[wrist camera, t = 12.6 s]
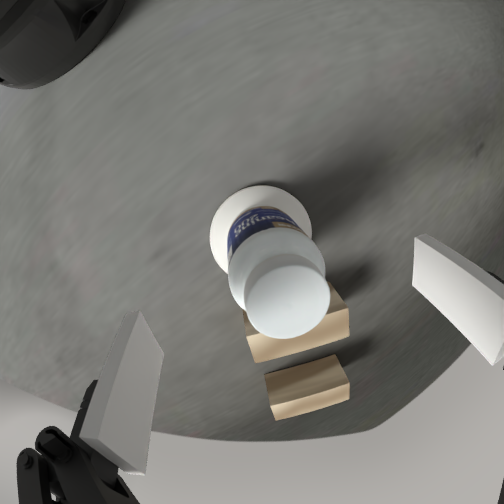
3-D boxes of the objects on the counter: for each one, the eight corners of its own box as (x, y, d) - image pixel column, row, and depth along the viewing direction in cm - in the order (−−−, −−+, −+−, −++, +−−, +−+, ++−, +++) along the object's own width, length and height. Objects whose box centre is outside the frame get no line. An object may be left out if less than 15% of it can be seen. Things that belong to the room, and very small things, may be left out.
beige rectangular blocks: (242, 304, 24) (246, 336, 20) (328, 281, 24) (348, 307, 20) (269, 390, 29) (275, 420, 25) (336, 371, 29) (349, 398, 25)
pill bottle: (293, 199, 20) (347, 241, 11) (297, 264, 22) (341, 338, 13) (222, 208, 20) (221, 258, 11) (231, 273, 22) (238, 357, 13)
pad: (197, 200, 20) (196, 202, 20) (299, 175, 20) (302, 175, 20) (225, 290, 23) (225, 294, 23) (315, 267, 23) (318, 270, 23)
